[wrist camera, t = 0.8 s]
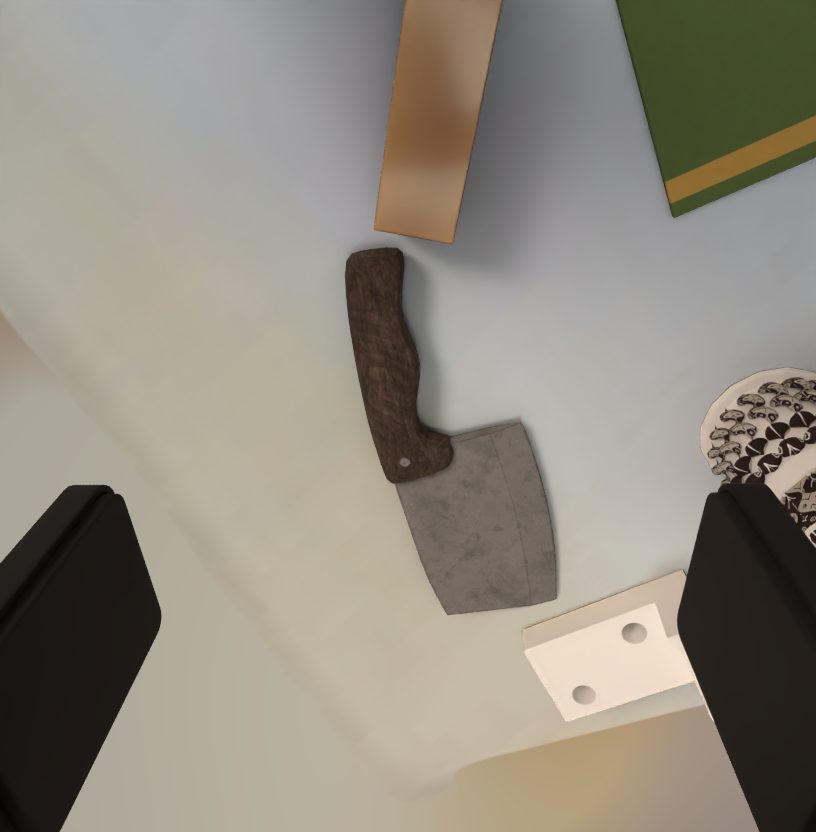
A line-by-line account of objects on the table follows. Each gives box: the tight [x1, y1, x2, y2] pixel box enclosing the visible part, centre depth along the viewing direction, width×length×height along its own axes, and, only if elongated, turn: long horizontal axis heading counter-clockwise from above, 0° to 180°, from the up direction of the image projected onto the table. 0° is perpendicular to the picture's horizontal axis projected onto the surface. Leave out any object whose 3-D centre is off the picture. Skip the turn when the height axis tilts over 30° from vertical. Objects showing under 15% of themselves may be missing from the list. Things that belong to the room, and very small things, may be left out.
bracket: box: [523, 570, 714, 722], centre depth 45 cm, size 13×7×8 cm, turn 122°
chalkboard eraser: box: [374, 0, 503, 244], centre depth 29 cm, size 4×13×4 cm, turn 171°
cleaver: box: [345, 247, 556, 615], centre depth 40 cm, size 29×10×2 cm, turn 17°
